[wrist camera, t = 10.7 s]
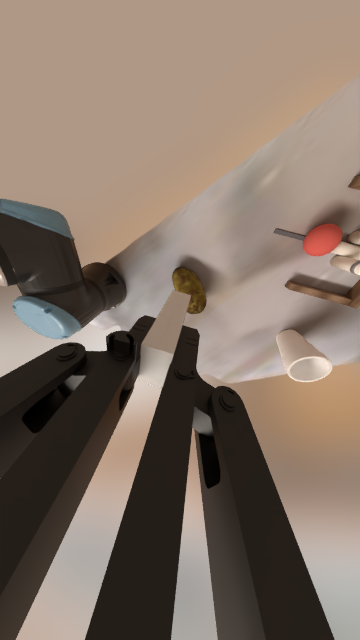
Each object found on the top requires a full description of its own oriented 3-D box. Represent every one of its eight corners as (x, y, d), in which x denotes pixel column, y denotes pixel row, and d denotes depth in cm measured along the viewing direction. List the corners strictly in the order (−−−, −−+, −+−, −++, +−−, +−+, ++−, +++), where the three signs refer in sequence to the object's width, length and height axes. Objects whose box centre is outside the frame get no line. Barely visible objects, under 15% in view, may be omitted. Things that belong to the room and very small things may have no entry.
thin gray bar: (273, 232, 35) (273, 232, 35) (275, 228, 34) (275, 228, 34) (307, 241, 35) (308, 241, 34) (310, 238, 34) (310, 238, 34)
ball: (330, 260, 34) (301, 252, 37) (352, 229, 30) (318, 223, 34) (324, 259, 30) (293, 251, 33) (349, 224, 27) (311, 219, 30)
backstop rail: (284, 285, 41) (289, 289, 38) (354, 176, 28) (368, 172, 26) (347, 303, 40) (356, 308, 37) (446, 199, 28) (470, 197, 25)
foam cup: (266, 332, 49) (282, 363, 38) (299, 320, 45) (326, 351, 34) (276, 352, 52) (293, 385, 41) (308, 342, 48) (335, 376, 37)
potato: (201, 260, 41) (199, 267, 34) (208, 303, 47) (208, 316, 40) (172, 267, 43) (165, 275, 37) (183, 306, 49) (178, 319, 43)
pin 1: (327, 264, 36) (357, 275, 29) (335, 253, 35) (368, 261, 27) (337, 267, 36) (370, 278, 29) (346, 256, 35) (382, 265, 27)
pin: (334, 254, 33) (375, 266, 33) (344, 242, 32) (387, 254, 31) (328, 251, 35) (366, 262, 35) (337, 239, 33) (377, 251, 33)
